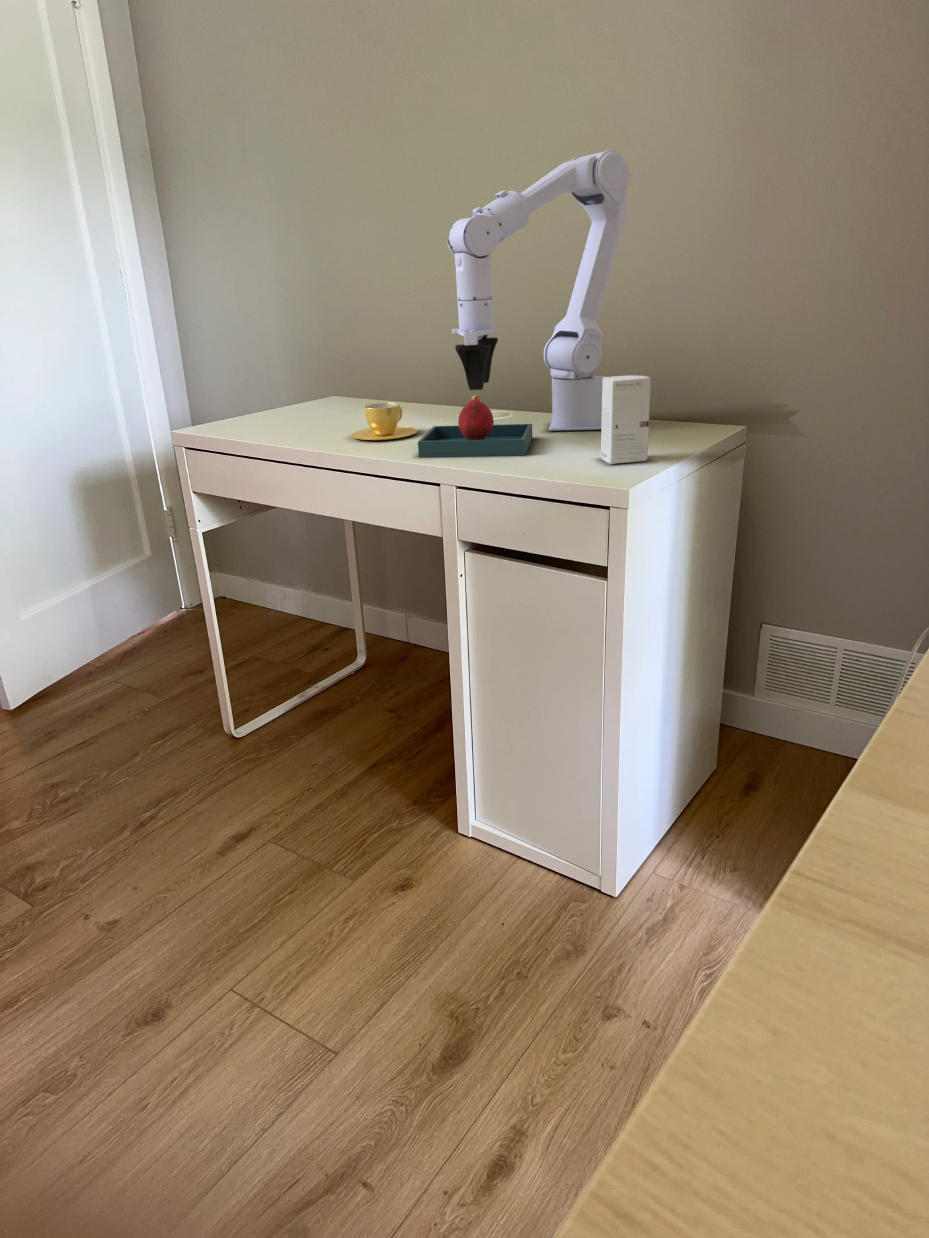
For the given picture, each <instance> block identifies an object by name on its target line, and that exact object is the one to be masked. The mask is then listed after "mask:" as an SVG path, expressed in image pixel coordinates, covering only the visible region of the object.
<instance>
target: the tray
mask: <svg viewBox="0 0 929 1238" xmlns="http://www.w3.org/2000/svg"><path fill="white" fill-rule="evenodd" d="M532 440H533V423H512V424H511V423H510V424H509V423H508V424H493V428H492V431H491V432H490V434H489V435H488V436H487V437H486V438H485V439H484V440H468V439H466V438H465V437H464V435H463V434H462V433H461V431H460V429H459V425H433V426H432V427H431V428H430V429H429V430H428V431H427V432H426V433H425V434H424V435H423V436H422V437H421V438H420V439H419V440H417V451H418V458H443V457H444V458H446V457H448V458H449V457H450V458H451V457H501V456H508V457H509V456H511V457H512V456H526V454H527V451H528V450H529V447H530V445H531V443H532Z"/></svg>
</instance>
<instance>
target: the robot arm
mask: <svg viewBox="0 0 929 1238" xmlns="http://www.w3.org/2000/svg"><path fill="white" fill-rule="evenodd" d="M628 165H629V164H628V163H627V160H626V159H625V157H624V155H623V154H622V153H621V152H620V151H619V150H616V149H606V150H604V151H601V152H598V153H592V154H588V155H578V156H575V157H573V158H572V159H571V160H568V161H565V162H563V163H560V165H558V166H557V167H556V168H553V170H551V171H549V172H548V173H547V174H546V175H544V176H542V177H541V178H540V179H539V180H537V181H536V182H534V183H532V185H530V186H529V187H527V188H526V189H525V190H523V191H522V192H517V191H515V190H508V191H507V190H500V191H498V192H497V193H495V195H494V196H495V199H494V200H492V201H491V202H489V203H487V204H486V205H484V206H483V207H481V206H479V207H475V208H474V209H473V210H472V216H471V217H465V218H460V219H458V220H457V221H455V222H454V223H453V224H452V225H451V226H452V228H450V231H449V234H448V235H449V237H447V238H446V244H447V247H448V249H449V251H450V252H451V254H452V255H453V258H454V266H455V281H456V298H457V317H458V328H452V329H451V335H459V336H461V337H463V343H464V344H456V345H454V347H455V349H454V350H455V352H456V353H457V355H458V357H459V359H460V361H461V364H462V366H463V370H464V374H465V378H466V383H467V386H468V389H469V391H481V390H483V389H484V384H488V383H489V381H490V376H491V369H492V362H493V356H494V353H495V349H496V346H497V344H498V342H499V338H498V337H489V336H490V335H491V334H494V333H496V327H495V320H494V319H495V318H494V316H495V315H494V296H493V295H494V294H493V293H494V292H493V270H492V269H493V268H492V254H493V253H494V252H495V251H496V249H497V246H498V244H500V243H502V242H503V241H504V240H506V239H508V238H509V237H511V236H513V235H514V234H516V233H517V232H518V231H520V230H521V229H523V228H525V227H526V226H527V225H528V223H529V222H530V217H531V213H532V212H534V211H537V210H538V209H540V208H542V207H543V206H545V205H547V204H548V203H550V202H552V201H554V200H555V199H557V198H558V197H560V196H562V195H563V194H570V195H571V197H572V198H573V199H574V200H575V201H576V202H577V203H578V204H579V205H580V207H581V208H582V209H583V210H584V211H585V212H586V214H587V215H588V217H589V219H590V221H591V225H590V227H589V232H588V236H587V238H586V242H585V246H584V250H583V254H582V257H581V259H580V260H581V261H580V264H579V268H578V271H577V275H576V279H575V281H574V286H573V289H572V292H571V297H570V300H569V304H568V308H567V311H566V315H565V316H564V317H563V318H562V319H561V320H560V321H559V322H558V323H557V324H556V325H555V326H554V329H553V333H552V335H551V336H550V338H549V339H548V341H546V344H545V346H544V348H543V362H544V364H545V365H546V367H547V368H548V369H549V371H550V372H549V373H550V376H551V408H552V409H551V414H552V415H551V419H552V420H551V421H550V424H549V426H548V431H550V432H554V431H555V432H557V431H558V432H559V431H597V430H599V431H600V430H601V428H602V379H603V377H605V376H604V375H596V373H595V372H596V371H597V370H598V369H599V367H600V365H601V362H602V356H603V355H602V354H603V353H602V342H603V339H604V334H603V332H602V330H601V328H600V327H599V325H598V321H599V317H600V313H601V310H602V306H603V303H604V299H605V297H606V293H607V289H608V285H609V282H610V278H611V275H612V271H613V269H614V268H613V267H614V264H615V260H616V257H617V254H618V250H619V247H620V243H621V239H622V236H623V232H624V228H625V226H626V222H627V217H628V193H627V192H628V188H629V184H630V181H631V177H632V172H631V170H630V168H629V166H628Z"/></svg>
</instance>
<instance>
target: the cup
mask: <svg viewBox="0 0 929 1238" xmlns="http://www.w3.org/2000/svg"><path fill="white" fill-rule="evenodd" d="M363 412H364V416H365V419H366V423H367V426H368V427H369V428H365V429H364V428H363V429H361V430H357V431H355V432H353V433H352V434H351V437H352V438H354V439H357V440H364V441H382V440H383V441H384V440H393V439H401V438H405V437H410V436H413V435H415V434H416V433H417V432H418V430H417V429H416V428H414V427H412V426H411V427H410V426H399V425H398V423H399V422H400V421H401V419H402V417H403V409H402V407H401V406H400V404H399V403H397V402H376V403H370V404H366V405H363Z"/></svg>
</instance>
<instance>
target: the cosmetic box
mask: <svg viewBox="0 0 929 1238" xmlns="http://www.w3.org/2000/svg"><path fill="white" fill-rule="evenodd" d="M651 382H652V379H651V377H650V376H646V375H641V374H634V375H617V376H604V377H603V379H602V428H601V431H600V433H601V434H600V436H601V437H600V459H601V460H602V461H604V462H606V463H607V464H608V465H609V464H610V465H615V464H625V463H626V464H627V463H636V462H646V461H648V460H649V459H648V458H649V457H648V455H649V434H650V409H651V408H650V405H651V385H652V383H651Z"/></svg>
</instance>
